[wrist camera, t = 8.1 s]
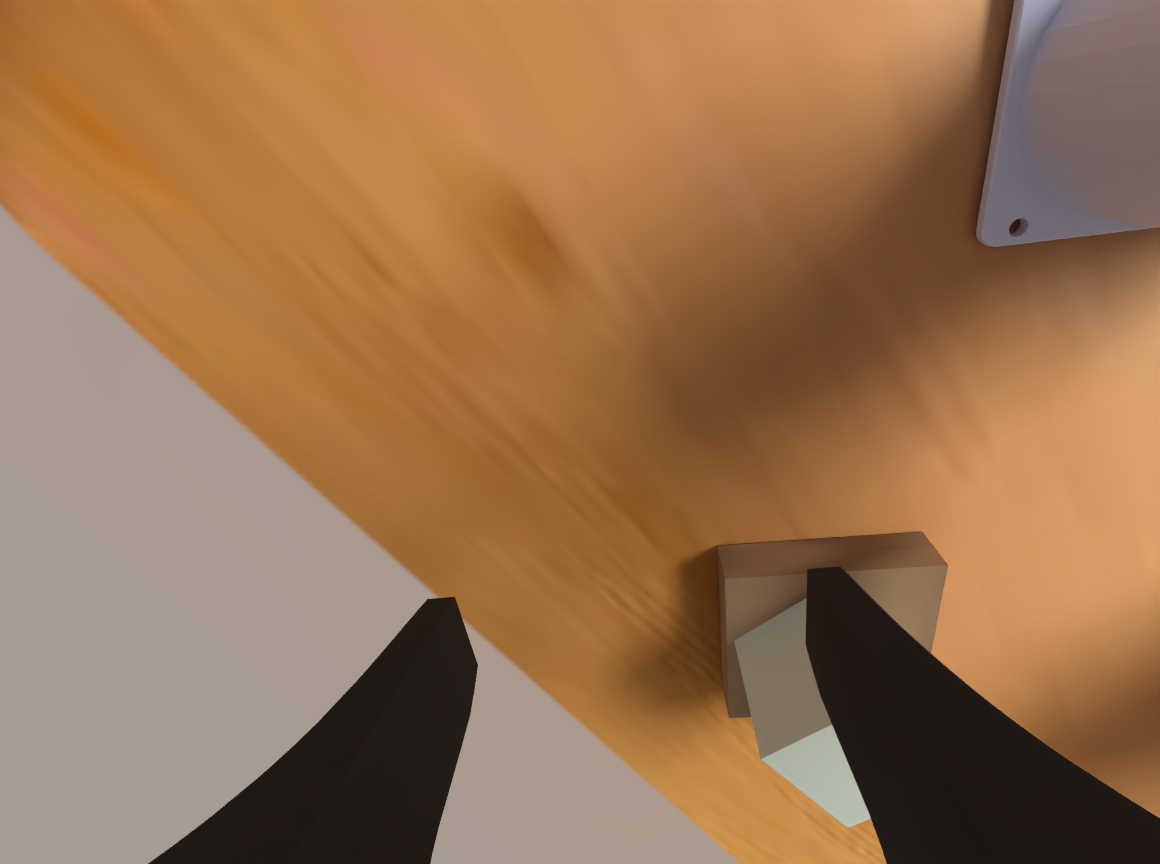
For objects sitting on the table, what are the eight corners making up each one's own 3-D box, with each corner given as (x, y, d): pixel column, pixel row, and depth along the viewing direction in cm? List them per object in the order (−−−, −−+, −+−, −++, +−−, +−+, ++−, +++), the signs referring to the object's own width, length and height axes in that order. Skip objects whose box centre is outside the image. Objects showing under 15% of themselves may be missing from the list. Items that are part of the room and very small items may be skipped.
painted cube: (841, 577, 21) (899, 691, 17) (913, 649, 23) (983, 772, 18) (733, 640, 23) (761, 759, 19) (806, 703, 25) (847, 828, 20)
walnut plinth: (922, 531, 23) (948, 565, 21) (899, 672, 26) (919, 711, 24) (717, 545, 24) (725, 578, 22) (721, 679, 27) (728, 717, 25)
